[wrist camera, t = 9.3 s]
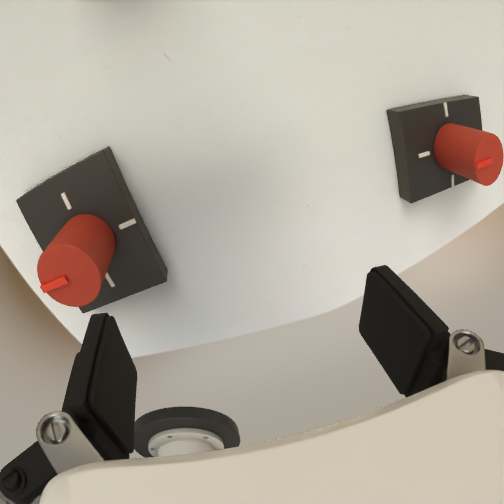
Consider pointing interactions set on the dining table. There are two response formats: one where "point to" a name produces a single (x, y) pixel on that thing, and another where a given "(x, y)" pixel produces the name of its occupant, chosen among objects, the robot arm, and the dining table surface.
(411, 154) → the dark square slab
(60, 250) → the near red knob
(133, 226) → the dark tick-marked fixture
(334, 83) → the dining table surface
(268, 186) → the dining table surface
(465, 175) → the red cylindrical knob
